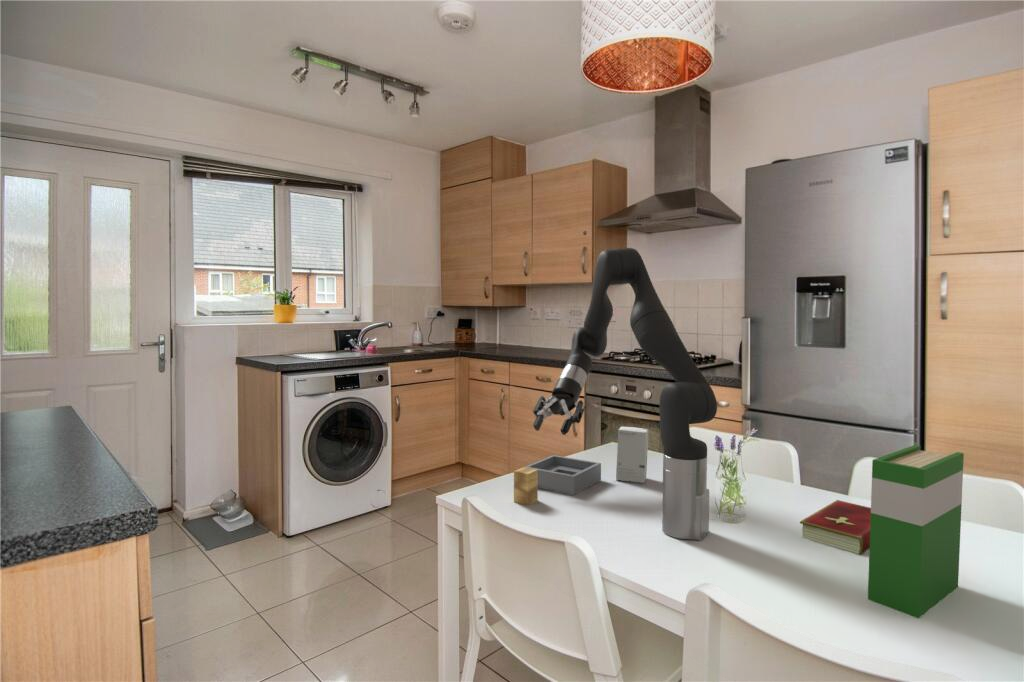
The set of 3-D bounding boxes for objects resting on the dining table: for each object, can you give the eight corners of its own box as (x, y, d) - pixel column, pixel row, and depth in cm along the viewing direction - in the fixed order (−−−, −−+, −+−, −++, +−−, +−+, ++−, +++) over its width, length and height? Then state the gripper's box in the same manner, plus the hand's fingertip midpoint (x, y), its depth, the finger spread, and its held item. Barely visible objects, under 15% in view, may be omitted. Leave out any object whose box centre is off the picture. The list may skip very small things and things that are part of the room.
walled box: (600, 480, 164) (601, 463, 164) (573, 495, 151) (574, 476, 150) (553, 471, 173) (553, 455, 173) (523, 484, 160) (523, 467, 160)
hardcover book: (894, 530, 127) (895, 512, 127) (861, 557, 114) (862, 536, 114) (836, 516, 137) (837, 498, 136) (799, 539, 123) (800, 520, 123)
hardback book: (909, 571, 107) (914, 444, 105) (958, 586, 101) (963, 453, 99) (867, 599, 97) (872, 459, 95) (918, 618, 91) (924, 470, 89)
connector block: (537, 500, 147) (537, 469, 146) (528, 505, 143) (528, 473, 143) (523, 497, 149) (523, 467, 149) (513, 501, 146) (513, 471, 145)
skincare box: (615, 480, 163) (616, 429, 162) (619, 475, 169) (619, 425, 168) (645, 483, 160) (646, 431, 160) (648, 477, 166) (648, 427, 165)
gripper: (544, 374, 165) (522, 419, 157) (588, 378, 157) (567, 426, 149) (553, 390, 170) (532, 435, 161) (596, 394, 162) (576, 442, 153)
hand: (549, 431), depth 155 cm, fingers open, 8 cm apart
